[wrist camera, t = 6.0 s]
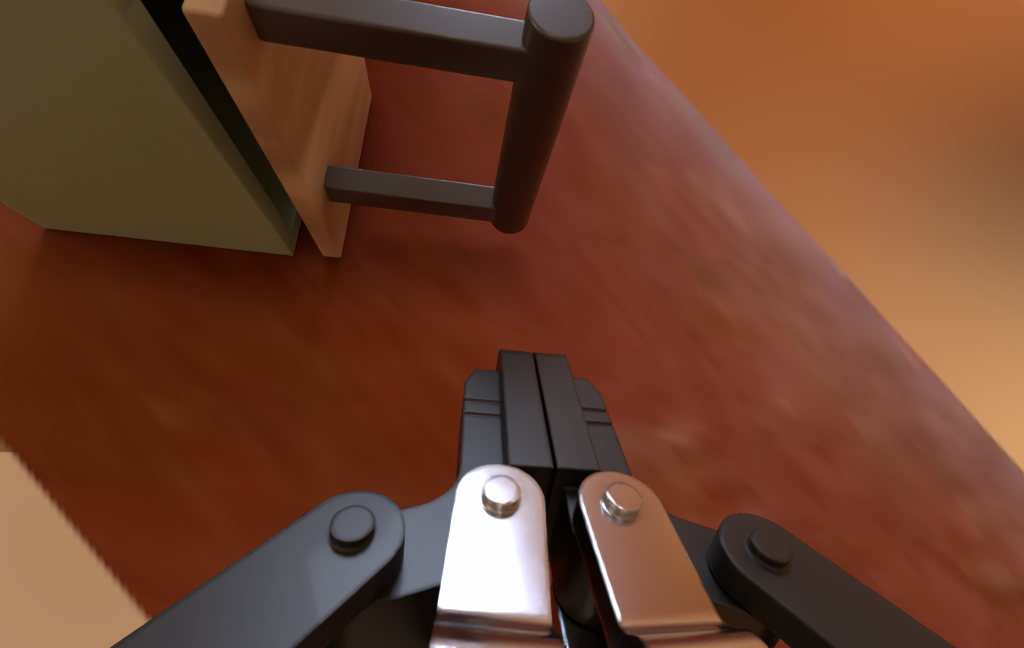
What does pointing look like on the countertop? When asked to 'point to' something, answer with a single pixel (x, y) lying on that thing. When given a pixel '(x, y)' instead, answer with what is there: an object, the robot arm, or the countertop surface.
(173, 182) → the cabinet
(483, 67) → the brown panel dark handle
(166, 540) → the countertop surface
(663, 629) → the robot arm
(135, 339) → the countertop surface
